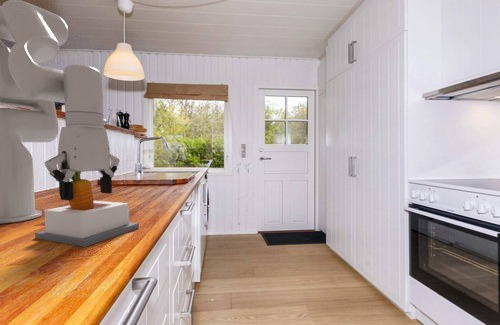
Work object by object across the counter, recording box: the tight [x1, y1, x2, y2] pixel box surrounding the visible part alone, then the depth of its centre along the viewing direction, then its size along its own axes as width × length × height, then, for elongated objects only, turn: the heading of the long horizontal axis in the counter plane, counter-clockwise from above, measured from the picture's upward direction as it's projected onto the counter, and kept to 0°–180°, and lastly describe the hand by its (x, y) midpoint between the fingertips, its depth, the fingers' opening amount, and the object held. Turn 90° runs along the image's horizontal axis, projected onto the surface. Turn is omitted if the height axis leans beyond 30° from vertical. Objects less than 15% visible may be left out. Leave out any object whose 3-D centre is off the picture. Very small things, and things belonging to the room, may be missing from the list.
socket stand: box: [34, 200, 140, 248], centre depth 63 cm, size 16×14×6 cm
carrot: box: [67, 172, 94, 211], centre depth 62 cm, size 5×5×15 cm
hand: (88, 196), depth 63 cm, fingers open, 9 cm apart
